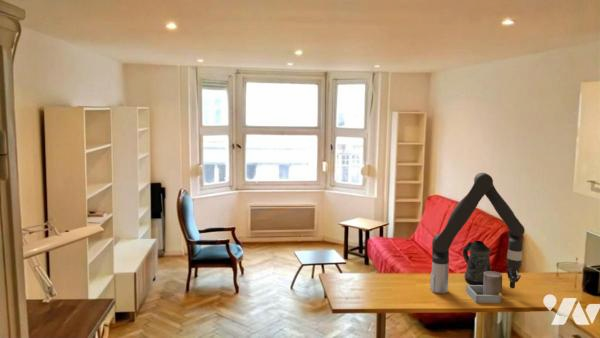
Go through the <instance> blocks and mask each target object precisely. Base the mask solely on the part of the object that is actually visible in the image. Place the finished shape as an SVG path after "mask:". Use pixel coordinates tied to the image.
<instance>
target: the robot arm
mask: <svg viewBox="0 0 600 338" xmlns="http://www.w3.org/2000/svg"><path fill="white" fill-rule="evenodd" d="M473 179H474V180H473V182H474V183H473V185H472V186H471V188H470V190H469V192H468V193H467V194H466V195H465V196H464V197H463V198H462V199H461V200H460V201H459V202H458V203H457V205H455V207H454V209H453V210H452V212H451V214H450V216H449V218H448V220H447V223H446V225H445V227H444V229H443V230H442V231H441V232H440V233H437V234H436V235H434V236H433V238H432V243H431V244H432V245H431V246H432V251H431V253H432V255H431V259H432V261H431V273H430V283H429V285H430V288H429V289H430V290H431V292H432V293H435V294H446V293H448V292H449V269H450V256H449V253H450V247H451V245H452V244H453V242H454V240H455V238H456V237H457V235H458V234H459V232H460V231H461V229H462V228H463V227H465V226H464V225H466V223H467V222H468V220H469V219H470V217H471V216H472V214H473V213H474V211H476V208H477V206H478V205H479V204H480V201H481V200H482V199H483V198H484V196H485V197H486V198H487V199H488V201H489V202H490V204H491V205H492V207H493V209H494V210H495V212H496V213H497V214H498V216H499V217H500V219H501V220H502V221H503V222H504V224H505V225H506V226H507V228H508V245H507V253H506V266H507V267H506V274H507V278H508V280H509V288H510V289H515V288H516V283H518V282H519V280H520V279H521V277H522V275H521V274H519V271H520V269H519V268H522V262H523V245H524V244H523V240H522V239H523V238H522V237H523V235H524V234H525V231H526V230H525V226H524V225H523V224H522V223H521V222H520V220H519V219H518V218H517V216H516V215H515V213H514V211H513V209H512V208H511V207H510V206H509V204H508V203H507V202H506V201H505V199H504V198H503V197H502V196H501V195H500V193H499V191H497V189H496V187H495V186H494V180H493V178H492V176H491V175H490V174H488V173H486V172H479V173H477V174H476V175H475V176H474V178H473Z"/></svg>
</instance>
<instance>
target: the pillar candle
mask: <svg viewBox="0 0 600 338" xmlns="http://www.w3.org/2000/svg"><path fill="white" fill-rule="evenodd" d="M502 290H503V274H502V273H501V272H499V271H495V270H494V271H492V270H491V271H486V272H484V279H483V293H482V295H499V293H503V291H502Z"/></svg>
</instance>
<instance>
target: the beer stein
mask: <svg viewBox="0 0 600 338" xmlns="http://www.w3.org/2000/svg"><path fill="white" fill-rule="evenodd" d="M468 251H469V252H468ZM491 252H492V251H491V248H490V247H489V246H487V245H486V244H485V243H484V241H482V240H474V242H473V241H470V242H468V243H467V245H465V246H463V249H462V256H463V259H464V262H465V263H466V264H467V267H466V269H465V273H464V280H465V282H466V283H467V284H468V285H483V279H484V272H486V271H492V267H491V261H490V259H491V258H490V254H491ZM468 253H469V254H468Z"/></svg>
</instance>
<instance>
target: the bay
mask: <svg viewBox="0 0 600 338" xmlns="http://www.w3.org/2000/svg"><path fill="white" fill-rule="evenodd" d="M465 293H466V294H467V295H468V296H469V297H470V298H471V299H472V300H473V302H474V303H477V304H484V303H485V304H501V303H502V295H503V294H502V293H503V292H502V293H499V295H483V285H472V284H466V285H465ZM478 293H479V294H478ZM480 293H481V294H480Z"/></svg>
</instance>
